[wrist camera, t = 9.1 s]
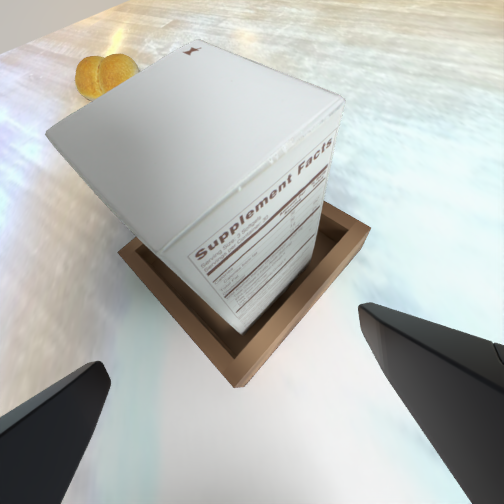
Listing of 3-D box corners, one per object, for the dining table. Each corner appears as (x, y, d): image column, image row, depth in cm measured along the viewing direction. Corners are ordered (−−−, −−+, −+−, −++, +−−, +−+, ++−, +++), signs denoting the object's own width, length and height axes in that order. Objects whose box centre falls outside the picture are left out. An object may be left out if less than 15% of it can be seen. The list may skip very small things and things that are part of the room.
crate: (244, 386, 16) (233, 388, 14) (139, 268, 22) (117, 252, 19) (361, 248, 19) (371, 227, 17) (243, 175, 25) (236, 150, 22)
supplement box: (178, 271, 20) (33, 127, 8) (246, 212, 21) (199, 29, 10) (242, 341, 17) (147, 258, 5) (314, 265, 18) (355, 86, 7)
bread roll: (136, 100, 35) (117, 68, 31) (79, 107, 36) (56, 78, 33) (149, 67, 39) (135, 35, 35) (98, 75, 40) (79, 45, 36)
